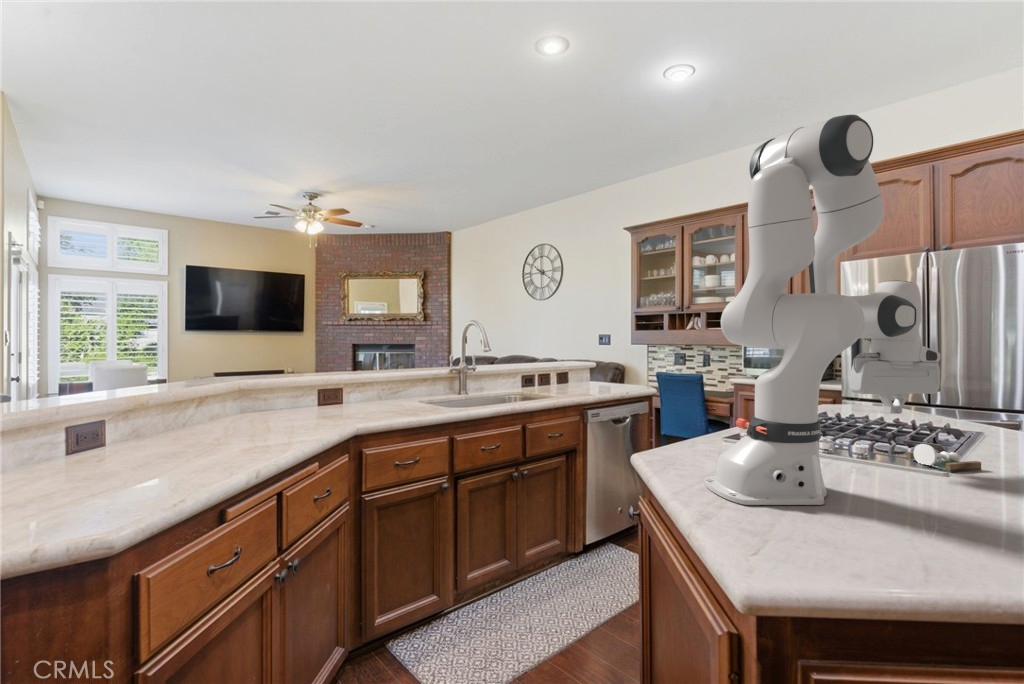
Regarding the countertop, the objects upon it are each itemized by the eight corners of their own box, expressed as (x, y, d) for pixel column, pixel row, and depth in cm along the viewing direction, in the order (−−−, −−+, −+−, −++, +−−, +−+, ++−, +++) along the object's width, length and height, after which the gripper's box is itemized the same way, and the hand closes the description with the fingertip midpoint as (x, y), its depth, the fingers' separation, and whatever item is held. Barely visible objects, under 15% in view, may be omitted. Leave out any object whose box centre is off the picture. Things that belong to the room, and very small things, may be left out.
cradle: (950, 472, 105) (950, 464, 105) (906, 459, 115) (906, 452, 115) (981, 470, 106) (981, 462, 106) (935, 457, 116) (935, 450, 116)
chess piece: (937, 464, 107) (975, 466, 108) (931, 442, 108) (968, 444, 110) (916, 467, 111) (952, 469, 113) (910, 445, 113) (946, 447, 115)
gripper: (866, 353, 105) (864, 416, 106) (947, 353, 108) (945, 415, 109) (842, 351, 112) (841, 411, 112) (919, 352, 114) (917, 410, 115)
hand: (892, 413), depth 110 cm, fingers closed
